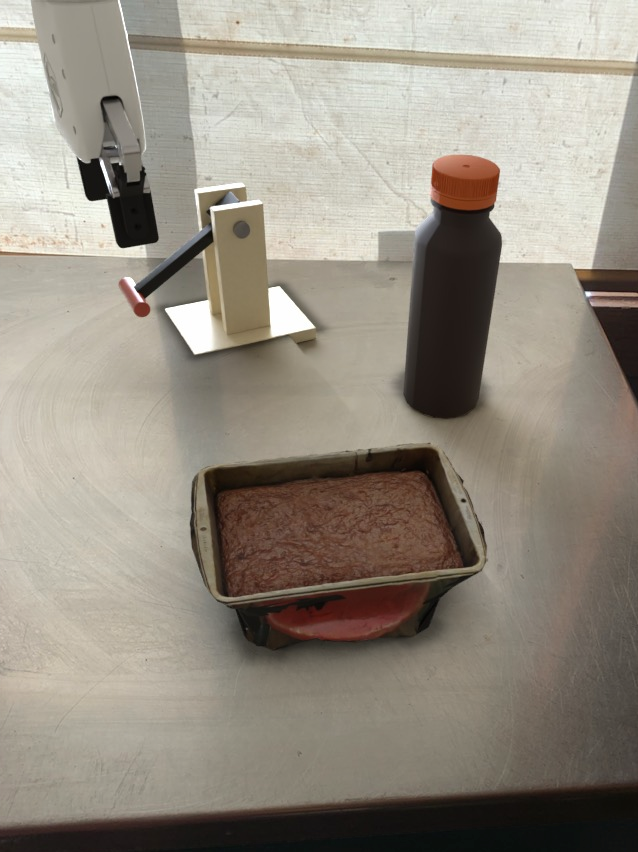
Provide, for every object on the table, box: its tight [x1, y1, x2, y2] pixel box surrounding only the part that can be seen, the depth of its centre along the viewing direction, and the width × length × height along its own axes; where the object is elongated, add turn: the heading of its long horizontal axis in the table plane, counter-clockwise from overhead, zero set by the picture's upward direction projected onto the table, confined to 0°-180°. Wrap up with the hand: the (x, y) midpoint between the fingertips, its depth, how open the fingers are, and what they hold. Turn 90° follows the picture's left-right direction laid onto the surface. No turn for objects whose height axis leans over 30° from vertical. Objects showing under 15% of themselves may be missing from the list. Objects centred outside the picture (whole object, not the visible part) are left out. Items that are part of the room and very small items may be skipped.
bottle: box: [402, 154, 503, 419], centre depth 64 cm, size 7×7×20 cm
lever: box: [118, 192, 240, 318], centre depth 69 cm, size 13×5×2 cm
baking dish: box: [189, 442, 488, 651], centre depth 52 cm, size 14×18×10 cm
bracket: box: [164, 182, 317, 356], centre depth 72 cm, size 12×9×13 cm
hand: (121, 220), depth 65 cm, fingers open, 9 cm apart
